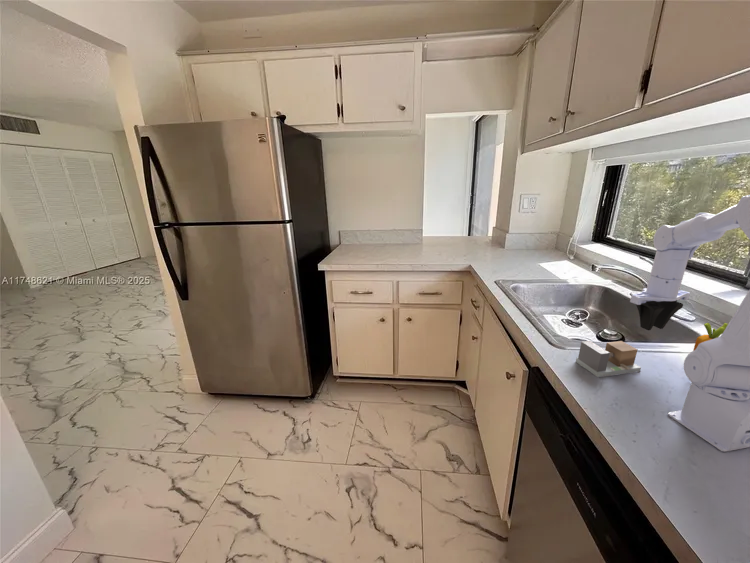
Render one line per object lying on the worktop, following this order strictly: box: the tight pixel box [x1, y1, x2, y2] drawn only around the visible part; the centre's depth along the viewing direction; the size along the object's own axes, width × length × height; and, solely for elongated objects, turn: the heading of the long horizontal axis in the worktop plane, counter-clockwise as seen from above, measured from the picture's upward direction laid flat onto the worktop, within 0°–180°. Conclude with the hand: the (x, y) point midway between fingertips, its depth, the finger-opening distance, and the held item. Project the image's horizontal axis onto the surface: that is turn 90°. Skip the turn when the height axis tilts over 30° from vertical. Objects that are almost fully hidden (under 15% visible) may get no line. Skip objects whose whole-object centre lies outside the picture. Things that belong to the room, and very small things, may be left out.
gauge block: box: [604, 340, 639, 370], centre depth 78 cm, size 6×6×4 cm
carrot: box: [692, 322, 729, 351], centre depth 71 cm, size 5×5×15 cm
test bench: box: [575, 340, 642, 378], centre depth 79 cm, size 7×12×6 cm, turn 99°
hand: (651, 327), depth 78 cm, fingers open, 3 cm apart
